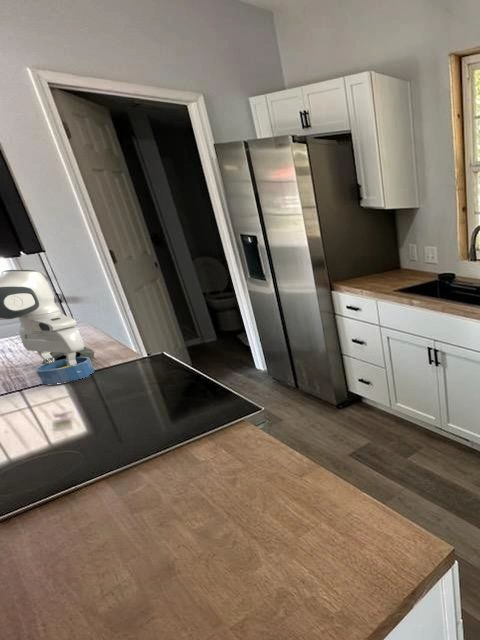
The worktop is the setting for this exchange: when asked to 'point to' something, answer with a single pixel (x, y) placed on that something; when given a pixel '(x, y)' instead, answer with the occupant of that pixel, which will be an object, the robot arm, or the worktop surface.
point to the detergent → (83, 353)
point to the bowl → (64, 371)
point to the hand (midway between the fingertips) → (61, 364)
